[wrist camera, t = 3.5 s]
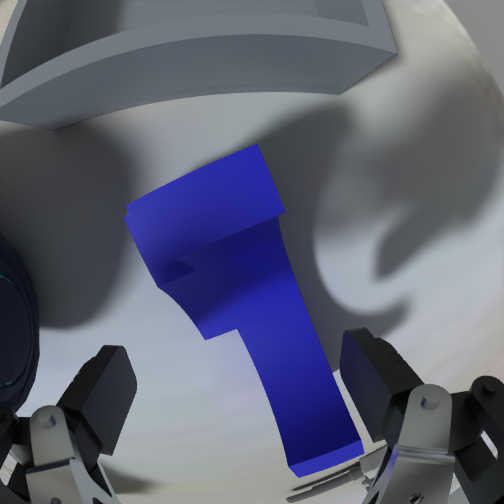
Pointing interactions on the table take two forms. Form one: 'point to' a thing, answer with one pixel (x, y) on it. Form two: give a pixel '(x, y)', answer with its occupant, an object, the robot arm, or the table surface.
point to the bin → (179, 52)
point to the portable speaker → (16, 330)
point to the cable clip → (247, 295)
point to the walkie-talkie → (347, 476)
